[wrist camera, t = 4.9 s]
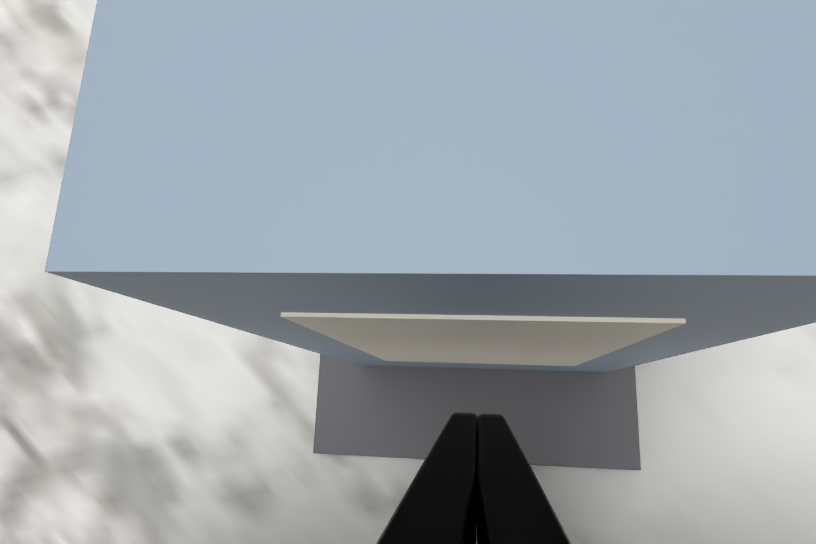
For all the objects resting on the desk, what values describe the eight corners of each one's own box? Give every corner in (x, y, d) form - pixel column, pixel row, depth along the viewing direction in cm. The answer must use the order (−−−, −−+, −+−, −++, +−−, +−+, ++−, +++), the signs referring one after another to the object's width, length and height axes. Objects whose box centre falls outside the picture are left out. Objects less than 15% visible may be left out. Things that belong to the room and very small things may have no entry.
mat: (636, 468, 15) (640, 470, 14) (317, 452, 16) (313, 453, 16) (608, -28, 18) (611, -38, 18) (350, -11, 20) (347, -19, 19)
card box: (605, 374, 15) (1007, 284, 4) (359, 366, 16) (43, 276, 4) (600, 267, 16) (924, -99, 4) (364, 266, 17) (103, -34, 5)
